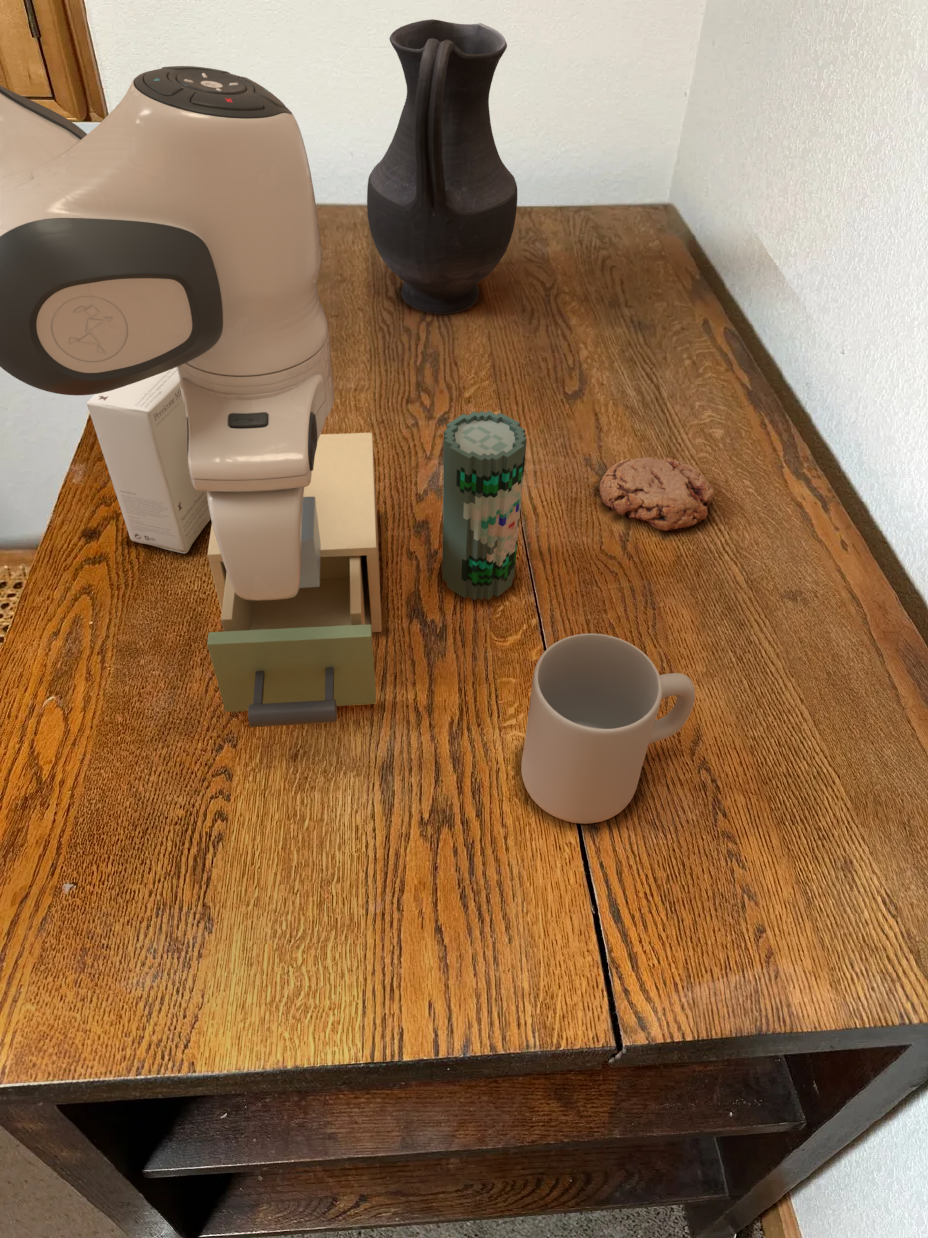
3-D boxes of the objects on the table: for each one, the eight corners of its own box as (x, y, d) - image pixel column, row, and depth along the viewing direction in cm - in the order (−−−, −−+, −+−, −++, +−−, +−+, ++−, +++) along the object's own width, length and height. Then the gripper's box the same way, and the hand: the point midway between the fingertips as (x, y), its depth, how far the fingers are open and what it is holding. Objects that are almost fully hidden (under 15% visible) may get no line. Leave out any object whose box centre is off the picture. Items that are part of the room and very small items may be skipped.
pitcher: (515, 267, 121) (533, -2, 99) (503, 352, 107) (521, 61, 85) (383, 257, 122) (373, -11, 100) (354, 341, 108) (334, 50, 86)
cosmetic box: (187, 556, 83) (149, 416, 72) (126, 542, 84) (80, 402, 73) (229, 498, 89) (200, 360, 78) (171, 486, 90) (135, 348, 79)
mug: (543, 838, 65) (559, 746, 57) (505, 741, 70) (514, 645, 62) (699, 798, 67) (736, 704, 59) (650, 707, 73) (677, 610, 65)
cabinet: (381, 632, 78) (376, 547, 70) (228, 639, 77) (207, 554, 70) (377, 516, 87) (372, 432, 80) (241, 522, 86) (224, 437, 79)
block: (254, 590, 65) (245, 542, 61) (258, 546, 68) (249, 498, 64) (319, 587, 65) (313, 539, 62) (320, 543, 68) (315, 495, 65)
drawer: (378, 754, 68) (372, 687, 62) (219, 763, 67) (199, 696, 62) (372, 580, 80) (367, 510, 75) (238, 586, 80) (223, 516, 74)
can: (482, 609, 80) (490, 469, 69) (429, 576, 82) (429, 436, 71) (526, 572, 83) (540, 433, 72) (474, 541, 85) (480, 402, 74)
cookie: (593, 468, 93) (597, 443, 91) (698, 468, 93) (705, 444, 91) (606, 535, 86) (610, 510, 84) (719, 535, 87) (726, 511, 85)
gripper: (218, 292, 62) (248, 460, 72) (183, 488, 48) (227, 662, 58) (314, 290, 62) (331, 457, 72) (307, 484, 49) (328, 656, 59)
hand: (284, 550), depth 65 cm, fingers closed on block, 4 cm apart
